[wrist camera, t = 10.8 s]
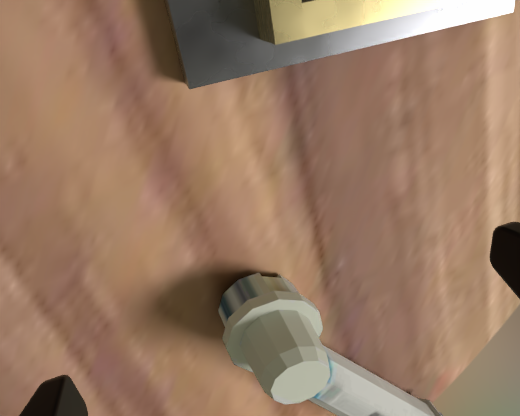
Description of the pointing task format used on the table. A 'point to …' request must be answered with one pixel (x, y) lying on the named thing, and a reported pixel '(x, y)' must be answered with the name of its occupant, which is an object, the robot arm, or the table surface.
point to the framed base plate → (301, 30)
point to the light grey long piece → (302, 353)
